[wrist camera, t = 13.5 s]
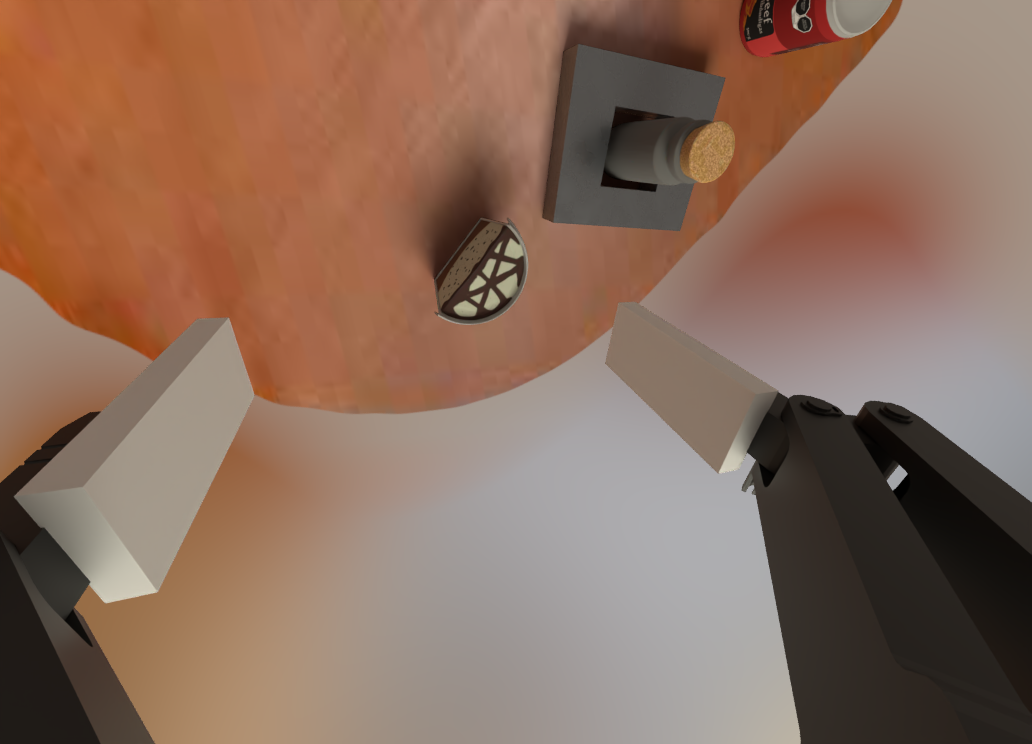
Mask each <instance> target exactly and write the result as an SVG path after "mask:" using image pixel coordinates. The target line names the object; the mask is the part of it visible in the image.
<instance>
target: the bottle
mask: <svg viewBox="0 0 1032 744" xmlns="http://www.w3.org/2000/svg"><path fill="white" fill-rule="evenodd" d="M734 147H735V137H734V133H733V130H732V129H731V127H730V126H729V125H728V124H727V123H725V122H723V121H715V122H712V121H709V120H694V119H692V118H689V117H676V118H665V119H655V120H646V121H637V122H628V123H622V124H619V125H617V126H615V127H614V128H613V129H611V133H610V138H609V144H608V149H607V154H606V159H605V165H604V171H605V172H606V173H607V174H608V175H609V176H610V177H612V178H615V179H620V180H628V181H636V182H644V183H652V184H660V185H677V184H680V183H688V184H691V183H696V182H701V183H707V182H711V181H713V180H715V179H717V178H718V177H719V176H720V175H721V174H722V173H723V172H724V171H725V170H726V168H727V167H728V165H729V163H730V161H731V159H732V156H733V153H734Z"/></svg>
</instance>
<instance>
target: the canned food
mask: <svg viewBox="0 0 1032 744" xmlns="http://www.w3.org/2000/svg"><path fill="white" fill-rule="evenodd" d="M891 1H892V0H744V2H743V6H742V9H741V15H740V36H741V40H742V43H743V45H744V47H745V48H746V50H747V51H748V52H749V53H751V54H752V55H755V56H759V57H769V56H774V55H778V54H782V53H787V52H791V51H796V50H800V49H805V48H809V47H813V46H818V45H822V44H827V43H831V42H836V41H840V40H843V39H847V38H851V37H854V36H857V35H859V34H862V33H864V32H866V31H867V30H869V29H870V28H871V27H872V26H874V25H875V24H876V23H877V22H878V20H879V19H880V18H881V17H882V16H883V14H884V13H885V11H886V10H887V8H888V7H889V5H890V3H891Z"/></svg>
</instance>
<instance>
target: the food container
mask: <svg viewBox="0 0 1032 744" xmlns="http://www.w3.org/2000/svg"><path fill="white" fill-rule="evenodd" d="M507 220H508V222H509V223H508V224H507V223H503V222H499V221H494V220H490V219H486V218H482V217H481V218H480V219H479V221H478V222H477V223H476V225H475V226H474V227H473V229H472V230H471V231H470V233H469V234H468V235H467V237H466V238H465V239H464V241H463V242H462V243H461V245H460V246H459V247H458V249H457V250H456V251H455V253H454V254H453V255H452V257H451V258H450V259H449V261H448V262H447V263H446V265H445V266H444V267H443V269H442V270H441V271H440V273H439V274H438V275H437V277H436V278H435V279H434V283H435V290H436V297H437V304H438V311H439V313H437V312H435V314H436V315H437V316H439V317H441V318H443V319H445V320H447V321H450V322H453V323H457V324H464V325H474V324H481V323H485V322H488V321H491V320H493V319H495V318H497V317H499V316H501V315H502V314H503V313H505V312H506V311H507V310H508V309H509V308H510V307H511V306H512V305H513V304H514V303H515V302H516V300H517V299H518V297H519V296H520V294H521V292H522V290H523V287H524V284H525V282H526V277H527V272H528V257H527V251H526V248H525V244H524V242H523V240H522V237H521V235H520V233H519V231H518V230H517V228H516V227H515V225H514V224H513V222H512V221H511V220H510V219H509V218H507Z"/></svg>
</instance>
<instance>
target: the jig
mask: <svg viewBox="0 0 1032 744" xmlns="http://www.w3.org/2000/svg"><path fill="white" fill-rule="evenodd" d="M724 81H725V78H724V77H720V76H716V75H711V74H707V73H703V72H698V71H694V70H690V69H685V68H681V67H676V66H672V65H668V64H663V63H659V62H655V61H650V60H646V59H642V58H637V57H633V56H629V55H624V54H620V53H616V52H611V51H607V50H603V49H598V48H594V47H590V46H585V45H581V44H577V45H575V46H573V47H571V48H569V49H567V50H566V51H564V52H563V60H562V68H561V76H560V84H559V92H558V100H557V107H556V115H555V123H554V131H553V139H552V147H551V155H550V163H549V171H548V179H547V187H546V194H545V202H544V210H543V218H544V219H546V220H549V221H551V222H553V223H567V224H582V225H598V226H613V227H628V228H643V229H658V230H673V231H680V229H681V226H682V222H683V219H684V216H685V212H686V209H687V206H688V202H689V199H690V196H691V192H692V189H693V185H694V183H691V184H688V183H680V184H677V185H660V184H652V183H644V182H641V185H640V189H631V188H621V187H611V186H602V185H601V181H602V175H603V170H604V165H605V159H606V154H607V149H608V144H609V138H610V133H611V128H612V122H613V117H614V112H621V113H627V114H632V115H638V116H644V117H650V118H655V119H665V118H676V117H689V118H692V119H694V120H709V121H712V122H713V118H714V115H715V112H716V108H717V105H718V102H719V98H720V95H721V92H722V88H723V85H724Z"/></svg>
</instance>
